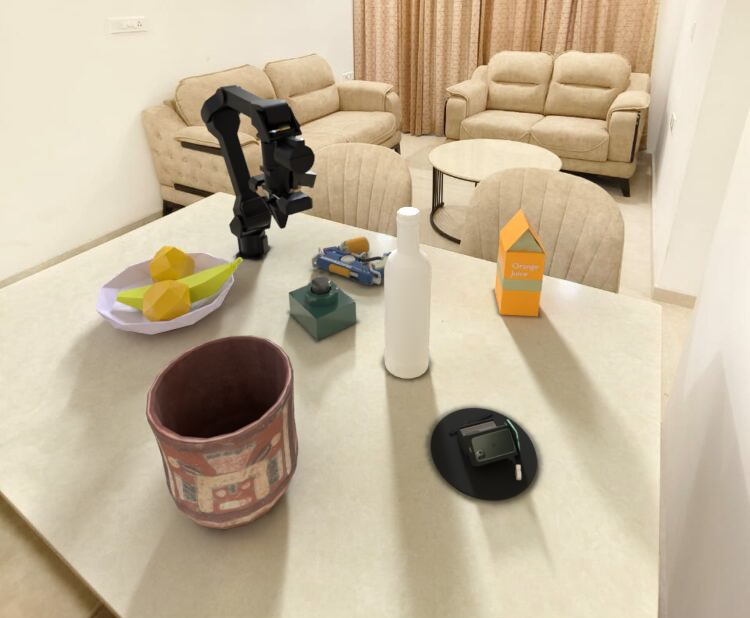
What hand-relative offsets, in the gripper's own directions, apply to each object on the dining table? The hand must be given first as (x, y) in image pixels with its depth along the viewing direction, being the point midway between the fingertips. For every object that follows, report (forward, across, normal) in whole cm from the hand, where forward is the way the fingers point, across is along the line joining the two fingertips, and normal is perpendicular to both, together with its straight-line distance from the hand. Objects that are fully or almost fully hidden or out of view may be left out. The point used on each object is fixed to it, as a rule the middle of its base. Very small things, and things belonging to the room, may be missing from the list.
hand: (282, 227), depth 111 cm
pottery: (+13, -42, +29) cm, 53 cm away
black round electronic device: (+13, -58, -1) cm, 60 cm away
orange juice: (+13, -38, -34) cm, 53 cm away
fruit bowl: (+13, +4, +24) cm, 28 cm away
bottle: (+13, -38, -4) cm, 41 cm away
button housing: (+13, -18, +1) cm, 22 cm away
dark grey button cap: (+6, -18, +1) cm, 19 cm away
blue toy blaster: (+13, -6, -16) cm, 22 cm away
